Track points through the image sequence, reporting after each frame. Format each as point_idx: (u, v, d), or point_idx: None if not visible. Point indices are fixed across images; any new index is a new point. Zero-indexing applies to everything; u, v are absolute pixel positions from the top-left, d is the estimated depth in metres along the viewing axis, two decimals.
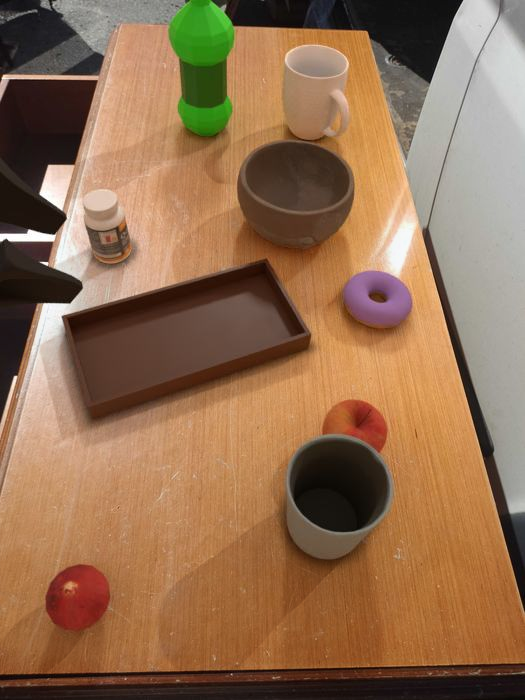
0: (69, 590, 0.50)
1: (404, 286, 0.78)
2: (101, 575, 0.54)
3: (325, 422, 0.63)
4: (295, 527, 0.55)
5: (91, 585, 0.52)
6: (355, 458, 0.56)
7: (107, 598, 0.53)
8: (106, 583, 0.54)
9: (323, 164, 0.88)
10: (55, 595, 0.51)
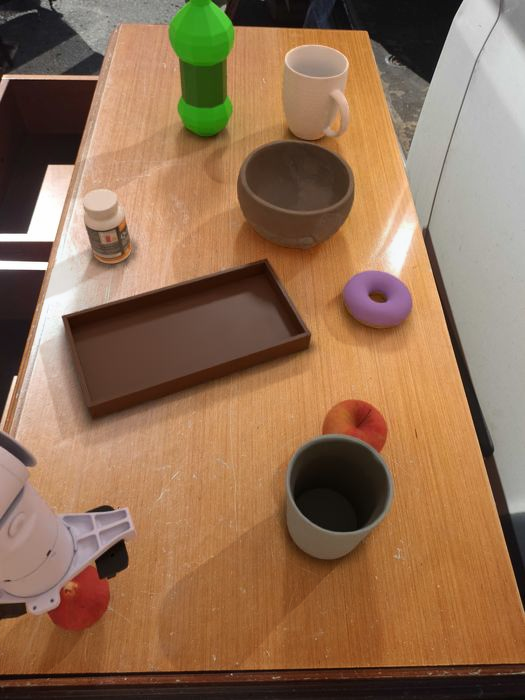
0: (69, 590, 0.50)
1: (404, 286, 0.78)
2: None
3: (325, 422, 0.63)
4: (295, 527, 0.55)
5: (91, 585, 0.52)
6: (355, 458, 0.56)
7: (107, 598, 0.53)
8: (106, 583, 0.54)
9: (323, 164, 0.88)
10: None
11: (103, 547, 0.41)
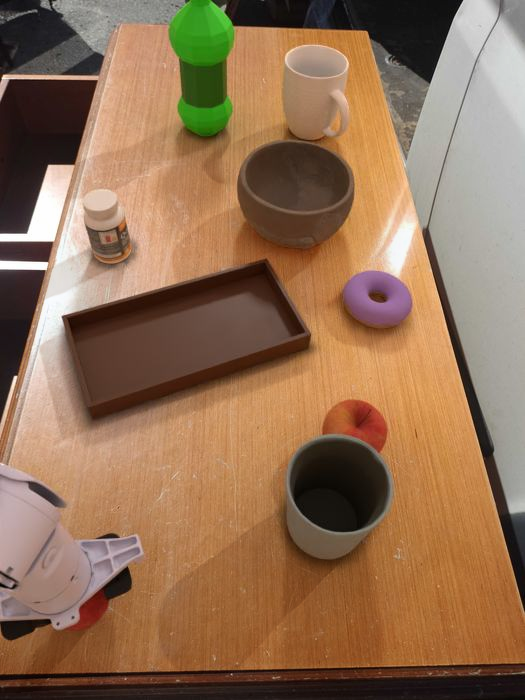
0: None
1: (404, 286, 0.78)
2: None
3: (325, 422, 0.63)
4: (295, 527, 0.55)
5: None
6: (355, 458, 0.56)
7: None
8: None
9: (323, 164, 0.88)
10: None
11: (117, 570, 0.47)
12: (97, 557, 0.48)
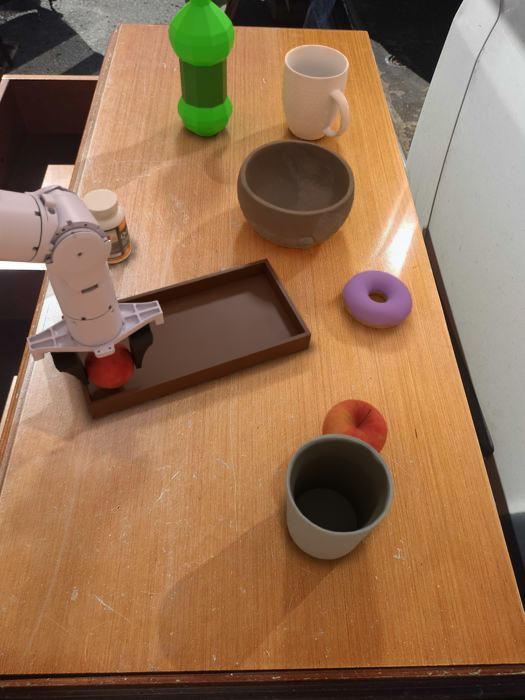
0: None
1: (404, 286, 0.78)
2: (127, 349, 0.68)
3: (325, 422, 0.63)
4: (295, 527, 0.55)
5: (121, 350, 0.66)
6: (355, 458, 0.56)
7: (132, 365, 0.67)
8: (131, 355, 0.68)
9: (323, 164, 0.88)
10: (93, 353, 0.65)
11: (142, 321, 0.61)
12: None
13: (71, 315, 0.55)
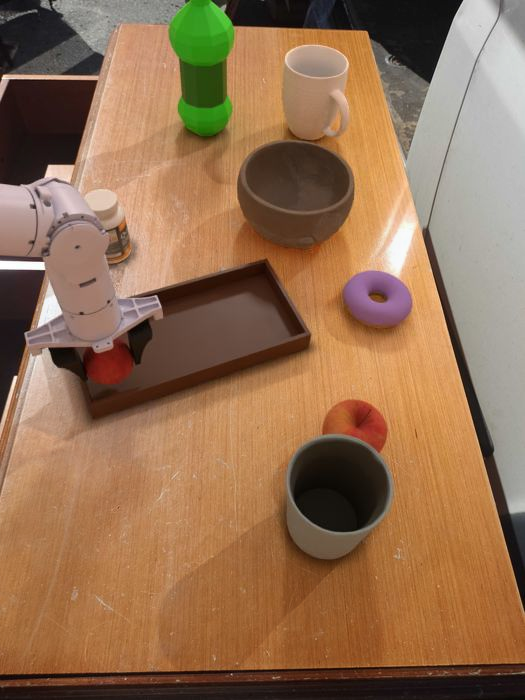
0: None
1: (404, 286, 0.78)
2: (126, 344, 0.67)
3: (325, 422, 0.63)
4: (295, 527, 0.55)
5: (119, 345, 0.65)
6: (355, 458, 0.56)
7: (131, 361, 0.66)
8: (130, 350, 0.67)
9: (323, 164, 0.88)
10: (91, 349, 0.64)
11: (141, 316, 0.61)
12: None
13: (69, 309, 0.55)
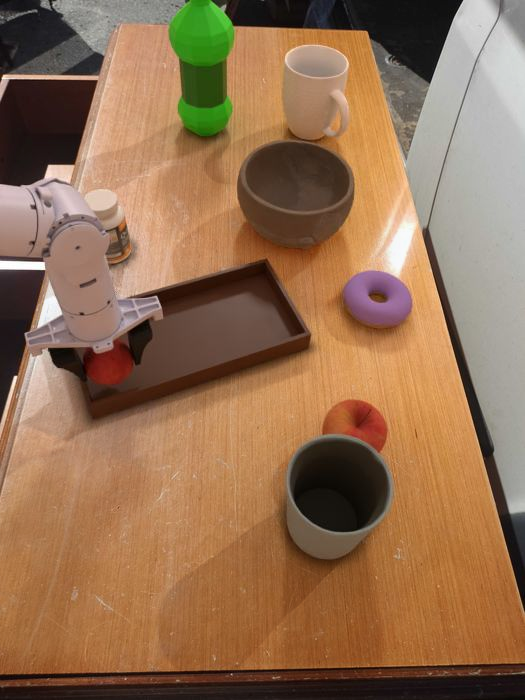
0: None
1: (404, 286, 0.78)
2: (126, 345, 0.67)
3: (325, 422, 0.63)
4: (295, 527, 0.55)
5: (119, 346, 0.65)
6: (355, 458, 0.56)
7: (131, 361, 0.67)
8: (130, 351, 0.67)
9: (323, 164, 0.88)
10: (91, 349, 0.64)
11: (141, 317, 0.61)
12: None
13: (69, 310, 0.55)
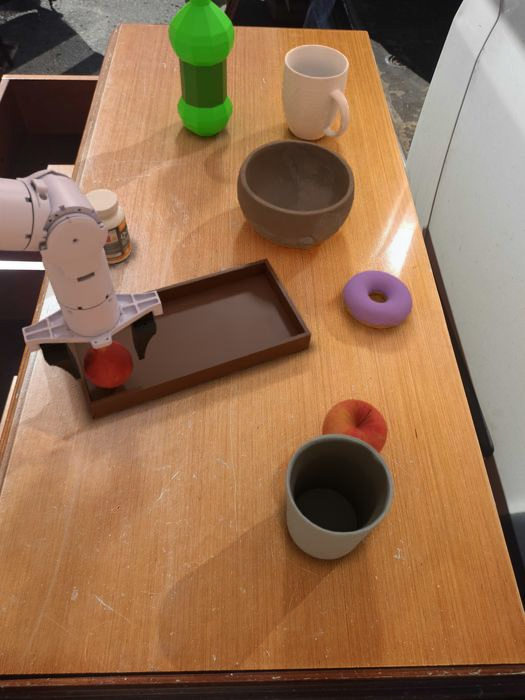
0: None
1: (404, 286, 0.78)
2: (126, 348, 0.68)
3: (325, 422, 0.63)
4: (295, 527, 0.55)
5: (118, 348, 0.66)
6: (355, 458, 0.56)
7: (131, 363, 0.67)
8: (130, 354, 0.68)
9: (323, 164, 0.88)
10: (91, 353, 0.65)
11: (140, 312, 0.60)
12: None
13: (67, 304, 0.54)
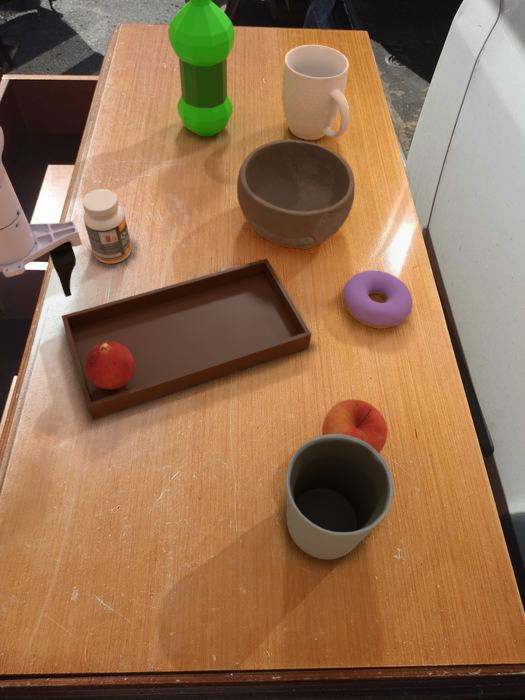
0: (105, 348, 0.64)
1: (404, 286, 0.78)
2: None
3: (325, 422, 0.63)
4: (295, 527, 0.55)
5: (121, 350, 0.66)
6: (355, 458, 0.56)
7: (133, 365, 0.67)
8: None
9: (323, 164, 0.88)
10: (93, 354, 0.65)
11: (55, 240, 0.59)
12: None
13: None
